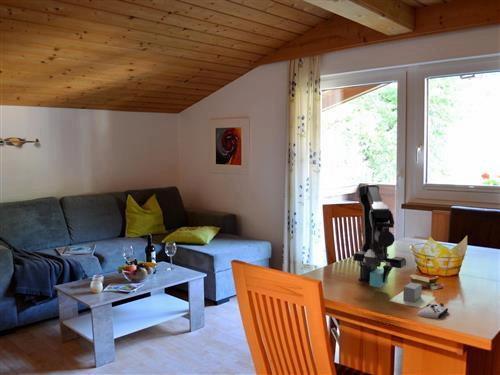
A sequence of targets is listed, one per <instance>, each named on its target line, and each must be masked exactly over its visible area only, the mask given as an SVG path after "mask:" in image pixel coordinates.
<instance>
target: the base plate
mask: <svg viewBox="0 0 500 375" xmlns="http://www.w3.org/2000/svg"><path fill="white" fill-rule="evenodd" d="M403 294H404V290H403V291H401V292H400V293H399V294H397V295H395V296H394V297H392V298H390V299H389V300H388V301H389V302H393V303H397V304H402V305H406V306H409V307H416V308H419V309H424V308H426V307H427V305H428V304H430V303H431V302H432V301H433V300H435V299H436V296H430V295H427V294H426V295H425V294H421V298H420V299H419V300H418V301H416V302H415V303H413V302H408V301H403Z"/></svg>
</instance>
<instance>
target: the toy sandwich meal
mask: <svg viewBox="0 0 500 375" xmlns="http://www.w3.org/2000/svg"><path fill="white" fill-rule="evenodd" d="M437 281H439V276H436V277H431V278H430V277H426V276H421V275H417V274H413V273H412V274H410V276H409V279H408V282H407V285H408V284H409V283H411V282H412V283H417V284H422V291H423V290H424V291H426V290H429V289H428V288H430V290H431V291H439V290H443V289H445V284H444V283H438V282H437Z"/></svg>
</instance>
